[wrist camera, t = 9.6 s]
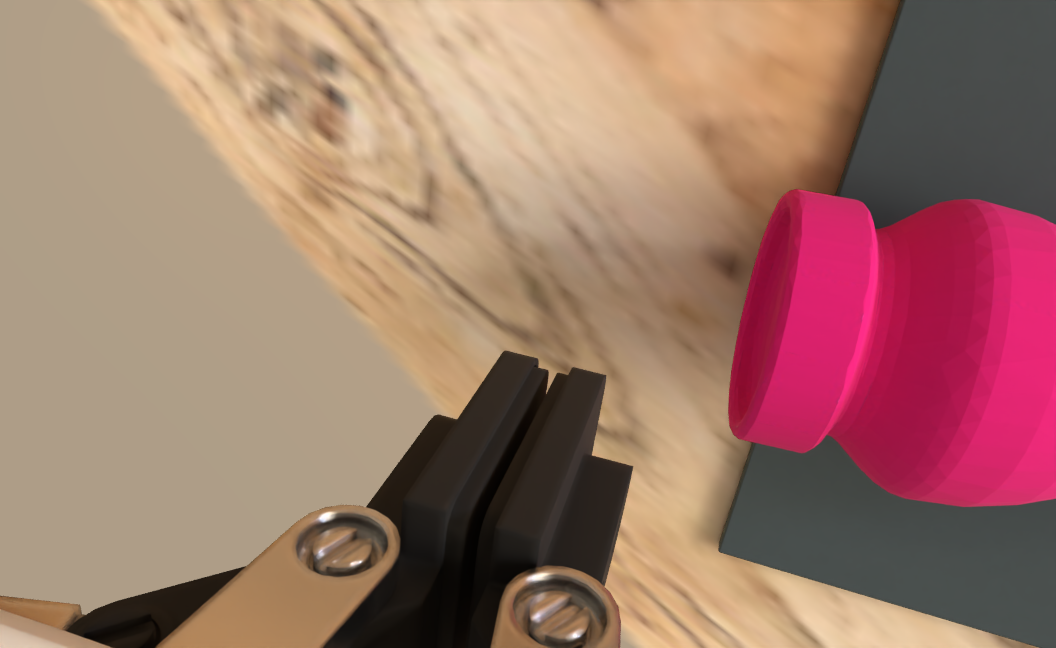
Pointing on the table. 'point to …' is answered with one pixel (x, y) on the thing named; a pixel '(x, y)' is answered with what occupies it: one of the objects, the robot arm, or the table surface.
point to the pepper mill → (906, 346)
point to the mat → (890, 195)
